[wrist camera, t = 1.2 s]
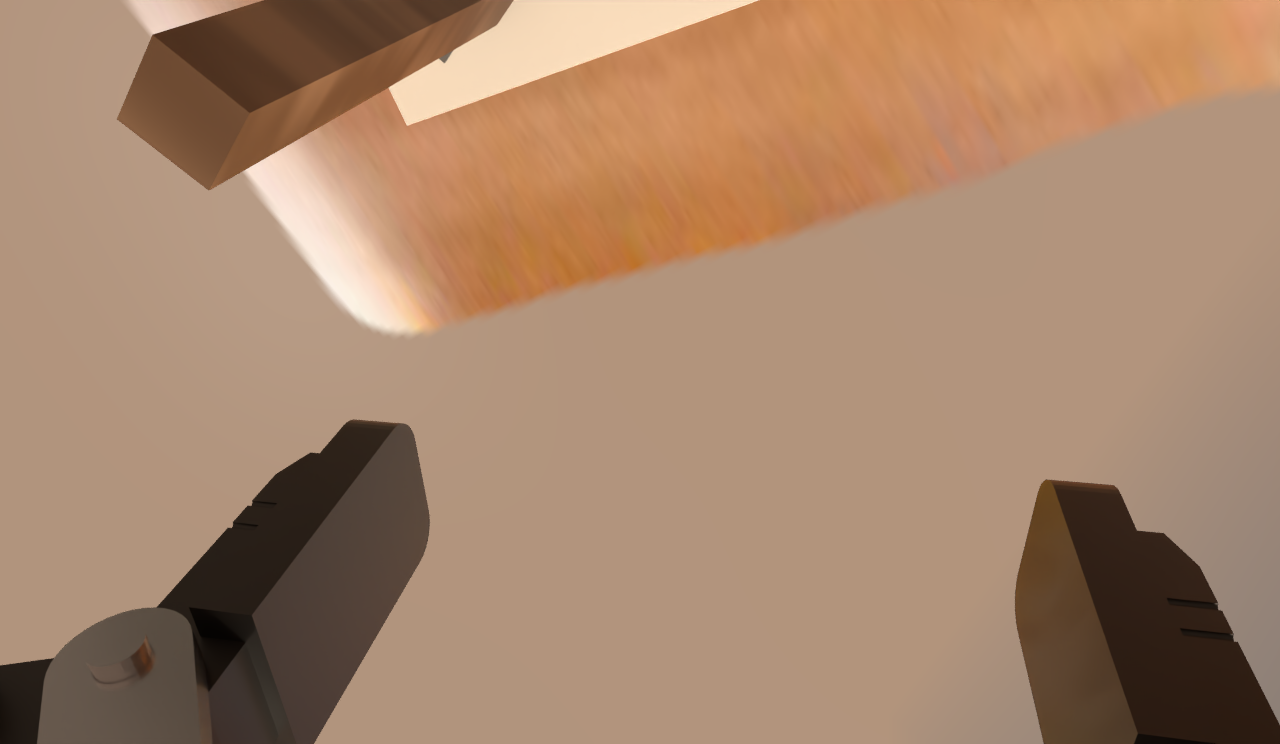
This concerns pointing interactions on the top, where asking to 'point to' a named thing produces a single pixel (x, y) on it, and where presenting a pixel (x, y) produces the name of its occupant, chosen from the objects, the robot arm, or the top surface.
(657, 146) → the top surface
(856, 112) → the top surface
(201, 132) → the brown grey l-shaped piece
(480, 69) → the dial plate
